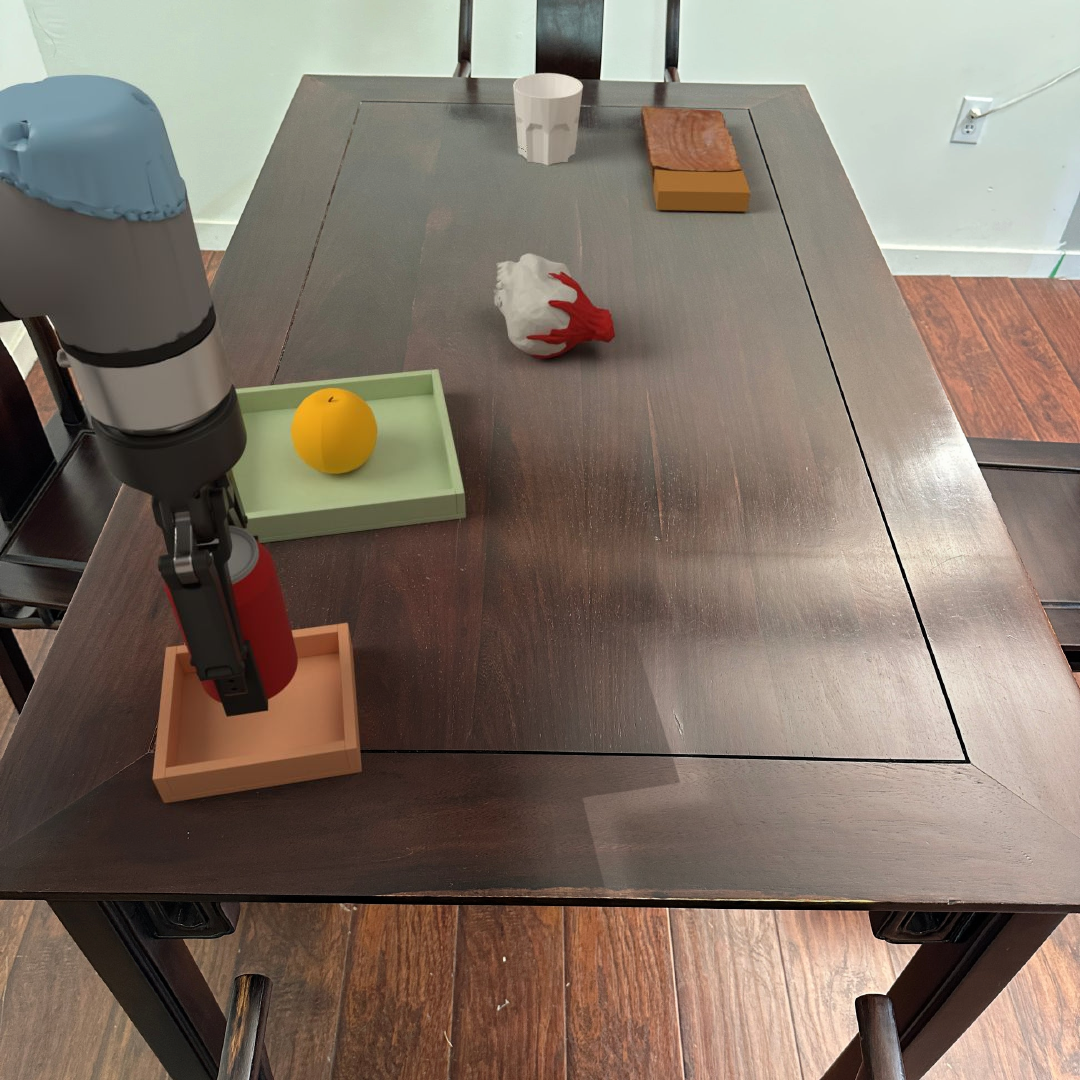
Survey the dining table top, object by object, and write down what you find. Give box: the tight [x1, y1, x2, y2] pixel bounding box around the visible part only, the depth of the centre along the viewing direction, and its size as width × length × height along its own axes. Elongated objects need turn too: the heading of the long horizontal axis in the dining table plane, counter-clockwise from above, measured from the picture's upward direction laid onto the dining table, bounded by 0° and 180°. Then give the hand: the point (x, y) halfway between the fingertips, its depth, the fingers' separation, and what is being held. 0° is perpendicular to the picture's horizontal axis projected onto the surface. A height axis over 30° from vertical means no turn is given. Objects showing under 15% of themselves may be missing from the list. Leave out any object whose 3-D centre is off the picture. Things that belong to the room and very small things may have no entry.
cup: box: [512, 72, 584, 167], centre depth 142 cm, size 10×10×10 cm
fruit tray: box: [232, 368, 467, 544], centre depth 92 cm, size 22×20×3 cm
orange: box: [291, 388, 378, 474], centre depth 90 cm, size 8×8×8 cm
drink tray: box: [152, 622, 363, 804], centre depth 71 cm, size 14×12×3 cm
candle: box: [493, 252, 616, 359], centre depth 106 cm, size 9×11×15 cm
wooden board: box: [640, 106, 751, 212], centre depth 142 cm, size 13×30×3 cm, turn 0°
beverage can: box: [163, 525, 298, 703], centre depth 64 cm, size 7×7×12 cm
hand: (248, 665), depth 67 cm, fingers closed on beverage can, 7 cm apart
